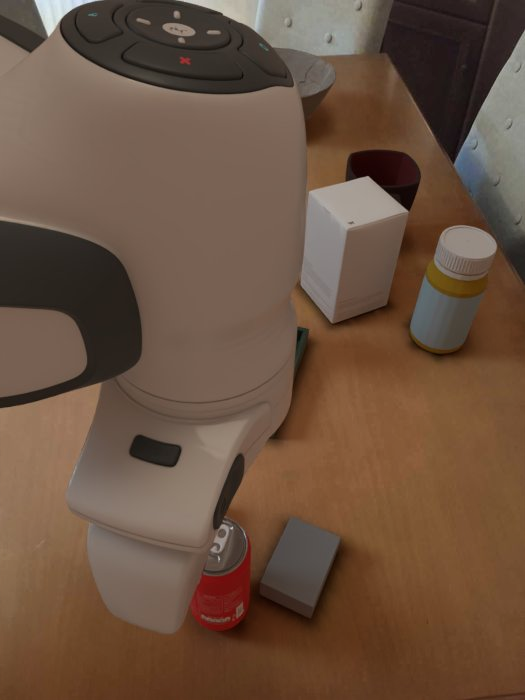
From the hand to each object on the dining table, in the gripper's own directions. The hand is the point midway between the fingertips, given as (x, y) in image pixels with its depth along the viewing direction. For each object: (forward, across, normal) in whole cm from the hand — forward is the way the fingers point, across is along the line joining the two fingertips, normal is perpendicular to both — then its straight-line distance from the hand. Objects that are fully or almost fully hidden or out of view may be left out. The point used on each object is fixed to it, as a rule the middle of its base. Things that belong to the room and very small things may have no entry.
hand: (216, 504), depth 40 cm
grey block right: (+18, -5, +6) cm, 20 cm away
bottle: (+18, -40, +15) cm, 46 cm away
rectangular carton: (+18, -44, +2) cm, 48 cm away
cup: (+18, -56, +4) cm, 59 cm away
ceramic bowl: (+18, -88, -21) cm, 92 cm away
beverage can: (+18, 0, 0) cm, 18 cm away
